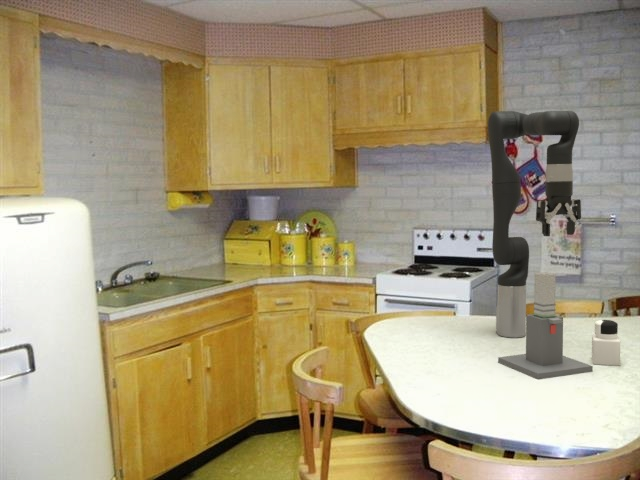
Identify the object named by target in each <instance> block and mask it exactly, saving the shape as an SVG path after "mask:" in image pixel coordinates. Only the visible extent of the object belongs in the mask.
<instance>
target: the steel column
mask: <svg viewBox="0 0 640 480" xmlns="http://www.w3.org/2000/svg"><path fill="white" fill-rule="evenodd" d="M533 276H534V277H533V279H534V280H533V281H534V282H533V283H534V284H533V291H534V293H533V294H534V295H533V314H534V316H536V317H539V318H543V319H544V318H553V317H555V315H556V305H557V304H556V286H557V285H556V284H557V283H556V278H557V276H556V274H555V273H551V272H536V273H534V274H533Z"/></svg>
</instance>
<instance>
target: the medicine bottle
mask: <svg viewBox="0 0 640 480" xmlns="http://www.w3.org/2000/svg"><path fill="white" fill-rule="evenodd" d="M618 326H619V324H618V322H616V321H615V320H611V319H599V320H596V321H595V322H594V334H591V361H592V364H593V365H601V366H602V365H603V366H616V367H617V366H620V365H621V339H620V337H619V334H618V331H619V330H618Z"/></svg>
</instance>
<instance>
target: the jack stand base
mask: <svg viewBox="0 0 640 480" xmlns="http://www.w3.org/2000/svg"><path fill="white" fill-rule="evenodd" d="M563 349H564V317H563V316H560V315H556V314H555V317H553V318H544V319H543V318H539V317H536V316H534V313H533V314H526V335H525V353H522V354H516V355H515V354H513V355H508V356H507V355H506V356H499V357H497V363H499V364H500V365H503V366H506V367H508V368H509V369H513V370H516V371H517V372H521V373H522V374H525V375H527V376H529V377H532V378H535V379H536V380H541V379H542V380H543V379H547V378H548V379H549V378H554V377H555V378H556V377H563V376H569V375H576V374H582V373H583V374H584V373H585V374H586V373H591V372H593V365H591V364H589V363H585V362H582V361H579V360H576V359H574V358H571V357H569V356H565V355H563V353H564V352H563V351H564V350H563Z"/></svg>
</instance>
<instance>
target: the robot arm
mask: <svg viewBox="0 0 640 480" xmlns="http://www.w3.org/2000/svg"><path fill="white" fill-rule="evenodd" d="M487 120H488V121H487V133H488V135H487V136H488V141H489V149H490V150H489V151H490V159H491V188H492V189H491V191H492V192H491V193H492V208H493V209H492V210H493V212H492V213H493V226H492V227H493V228H492V229H493V230H492V243H491V244H492V246H491V247H492V256H493V257H492V258H493V260H494V262H495V263H496V264H497V265H499V266H509V268H508V269H507V270H506V271H505V272H504V273H503V272H502V273H501V274H499V275H498V277H497V304H496V305H495V311H496V312H495V314H496V315H495V318H496V319H495V329H496V330H495V333H496V334H497V336H501V337H504V338H505V337H506V338H522V337H526V315H527V280H528V277H529V265H530V264H529V263H530V246H529V243H528V241H527V239H526V238H525V237H523V236H522V237H521V236H509V231H510V230H509V229H510V224H511V223H510V222H511V220H512V218H513V215H514V214H515V211H516V209H517V208H518V206H519V204H520V202H521V198H522V188H521V187H522V186H521V177H520V174H519V172H518V170H517V169H516V167H515V165H514V164H513V163H512V160H511V159H510V158H509V156H508V154H507V151H506V148H505V142H504V140H514V139H519V138H522V137H523V136H527V135H530V136H560V139H559V140H558V142H557V143H552V144H549V145H548V146H547V147H546V148H547V149H546V168H545V186H544V187H545V191H544V192H545V196H546V200H537V201H536V210H535V211H536V212H535V221H536V222H540V223H541V233H542V235H543V237H550V235H551V223H550V222H551V221H552V219H553V218H555V216H560V215H561V216H563V217H564V218H565V219H566V221H567V222H566V234H567V235H568V236H569V235H570V236H573V235H574V233H575V231H576V221H579V220H581V219H582V206H581V205H582V204H581V200H580V199H578V198H573V199H572V196H573V193H574V192H573V191H574V190H573V189H574V187H573V186H574V183H573V182H574V181H573V180H574V171H573V170H574V169H573V148H574V145H575V141H576V137H577V134H578V131H579V127H580V119H579V116H578V114H577V112H575V111H573V110H547V111H539V112H538V111H537V112H531V113H529V114H528V113H527V114H525V113H522V112H519V111H516V110H510V111H509V110H507V111H506V110H504V111H503V110H497V111H492V112H491V113H490V114H489V116H488V119H487Z"/></svg>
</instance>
